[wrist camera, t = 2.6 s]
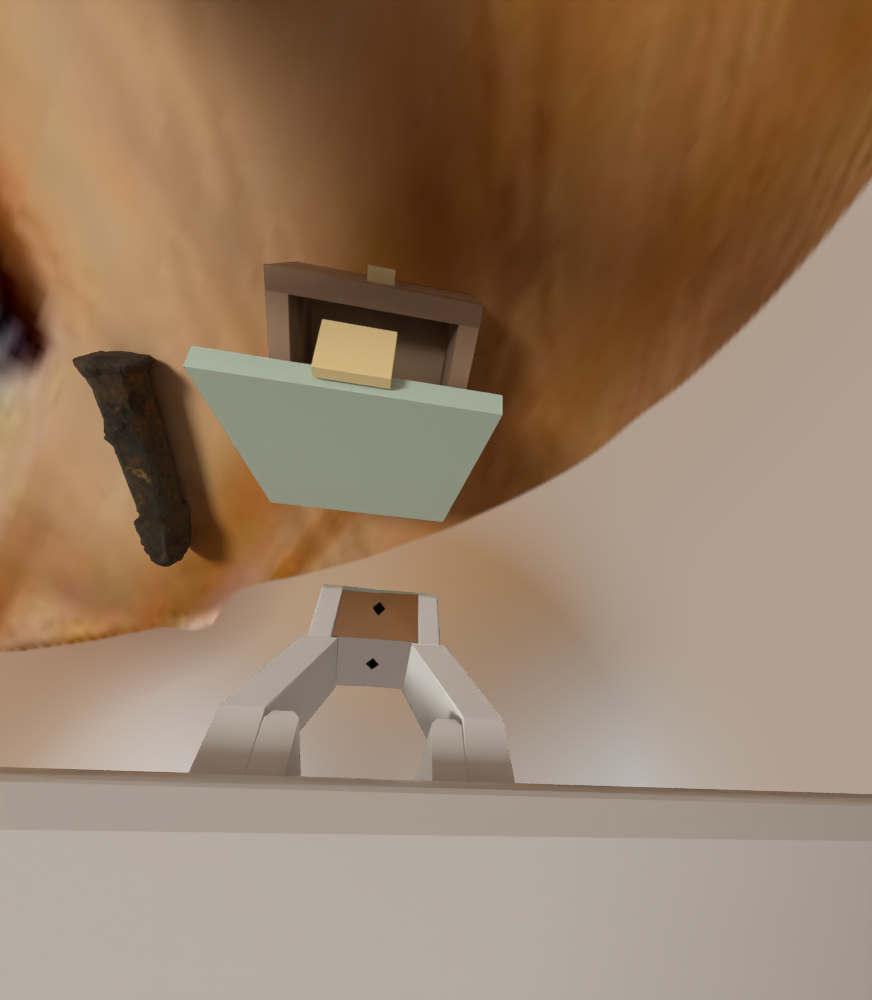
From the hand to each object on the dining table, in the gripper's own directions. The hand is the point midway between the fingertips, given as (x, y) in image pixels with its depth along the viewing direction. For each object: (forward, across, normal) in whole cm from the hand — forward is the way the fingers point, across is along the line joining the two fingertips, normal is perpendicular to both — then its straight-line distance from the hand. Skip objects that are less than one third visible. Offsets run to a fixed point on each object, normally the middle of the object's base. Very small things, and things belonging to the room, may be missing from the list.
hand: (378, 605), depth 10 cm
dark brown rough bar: (+24, +19, +10) cm, 32 cm away
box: (+23, +2, 0) cm, 23 cm away
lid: (+14, +2, +1) cm, 14 cm away
